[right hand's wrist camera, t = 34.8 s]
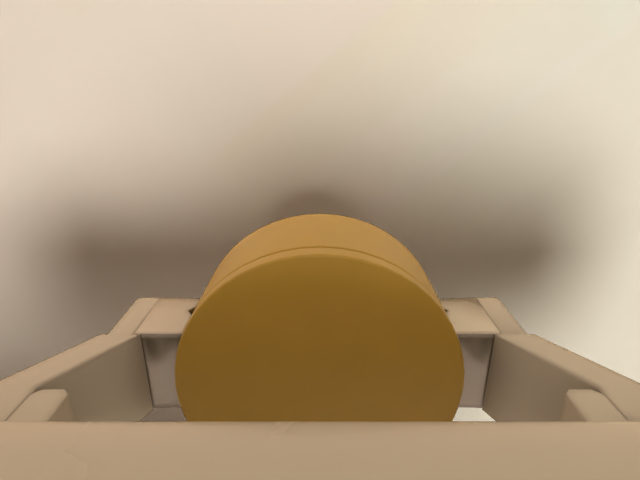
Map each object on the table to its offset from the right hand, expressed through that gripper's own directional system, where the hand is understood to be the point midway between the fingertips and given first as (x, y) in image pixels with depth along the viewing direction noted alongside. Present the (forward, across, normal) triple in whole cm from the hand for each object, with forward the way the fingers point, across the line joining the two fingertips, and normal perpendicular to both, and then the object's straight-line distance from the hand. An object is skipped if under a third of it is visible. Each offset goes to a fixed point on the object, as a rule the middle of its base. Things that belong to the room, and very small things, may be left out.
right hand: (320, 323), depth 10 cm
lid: (-2, 0, 0) cm, 2 cm away
